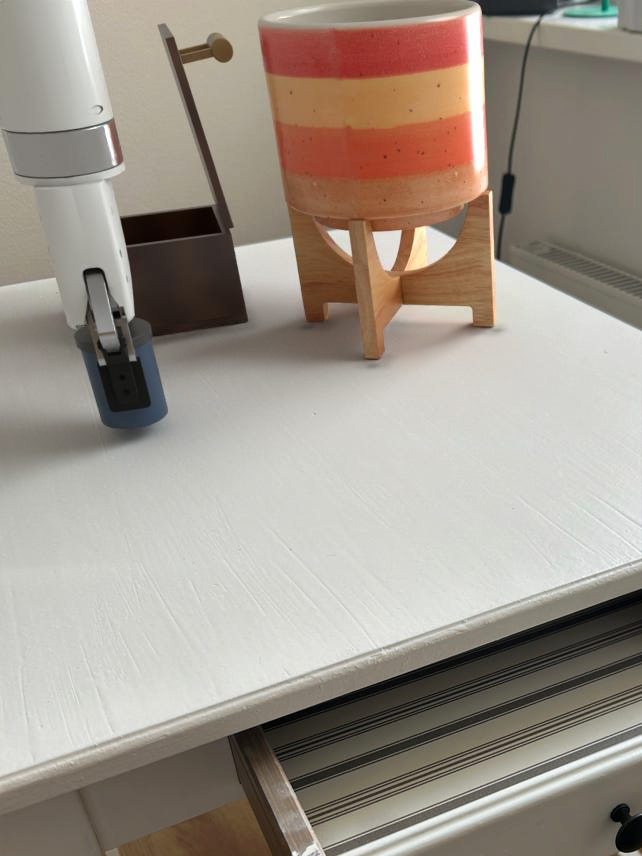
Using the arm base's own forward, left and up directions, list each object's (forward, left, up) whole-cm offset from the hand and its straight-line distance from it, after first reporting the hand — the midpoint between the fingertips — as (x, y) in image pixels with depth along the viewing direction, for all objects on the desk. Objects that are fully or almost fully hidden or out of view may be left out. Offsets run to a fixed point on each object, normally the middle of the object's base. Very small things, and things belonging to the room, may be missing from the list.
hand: (129, 391), depth 80 cm
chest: (-3, +29, -3) cm, 29 cm away
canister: (0, 0, -2) cm, 2 cm away
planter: (+22, +22, -4) cm, 31 cm away
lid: (+3, +30, +14) cm, 34 cm away
